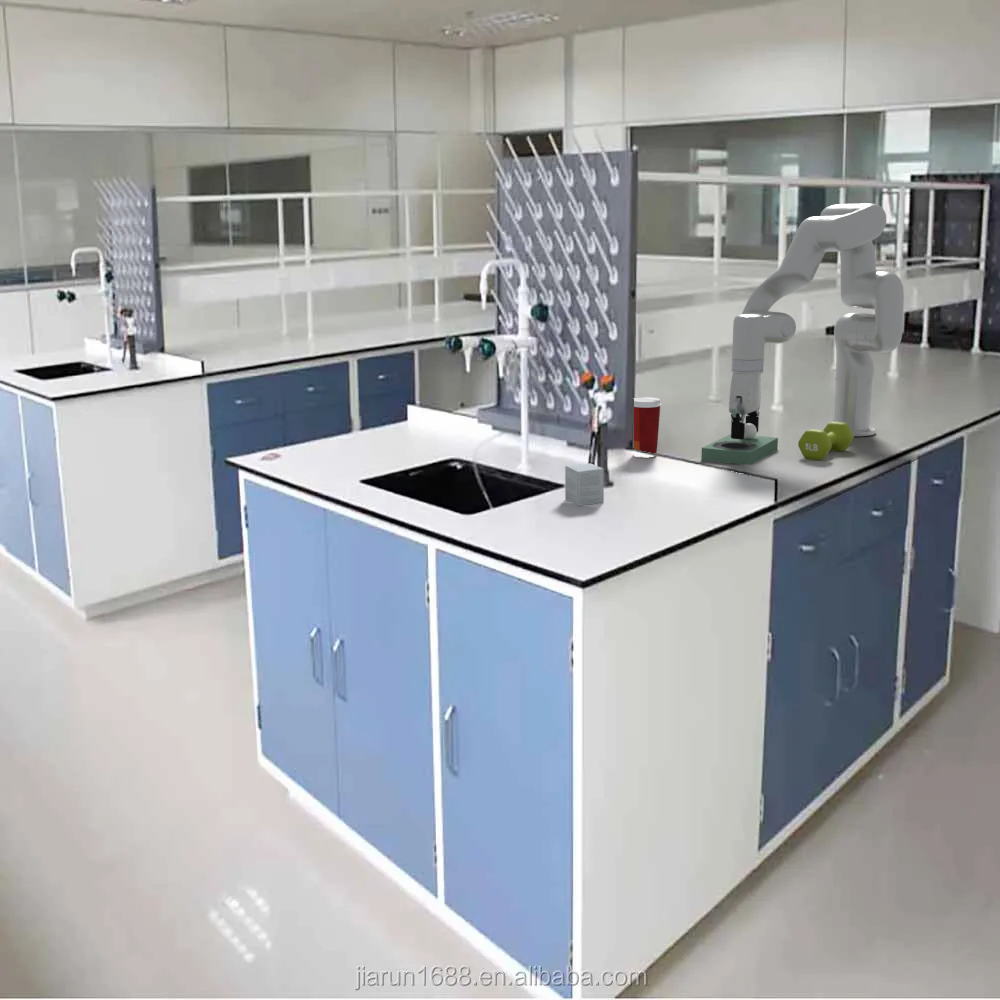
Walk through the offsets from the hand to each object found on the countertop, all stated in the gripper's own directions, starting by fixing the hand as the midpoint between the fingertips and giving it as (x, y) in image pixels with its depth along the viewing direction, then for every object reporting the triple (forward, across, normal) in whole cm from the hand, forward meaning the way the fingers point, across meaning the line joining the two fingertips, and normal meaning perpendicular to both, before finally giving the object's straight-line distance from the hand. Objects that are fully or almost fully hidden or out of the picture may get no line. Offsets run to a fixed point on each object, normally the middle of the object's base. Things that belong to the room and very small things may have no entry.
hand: (744, 435), depth 261 cm
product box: (+5, +61, -12) cm, 62 cm away
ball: (-1, -2, 0) cm, 3 cm away
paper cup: (+5, +15, -20) cm, 25 cm away
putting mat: (+4, +3, 0) cm, 5 cm away
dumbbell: (+5, -7, +18) cm, 20 cm away
